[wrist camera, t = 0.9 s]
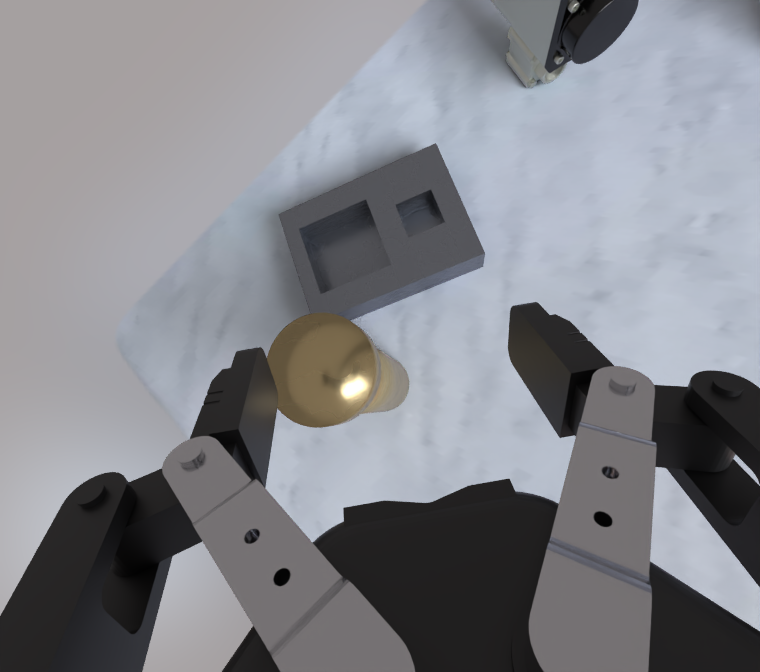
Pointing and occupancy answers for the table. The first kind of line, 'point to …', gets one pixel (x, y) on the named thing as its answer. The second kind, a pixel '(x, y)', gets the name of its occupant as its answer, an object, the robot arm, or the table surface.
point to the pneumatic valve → (560, 33)
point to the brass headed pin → (332, 372)
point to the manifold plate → (382, 237)
